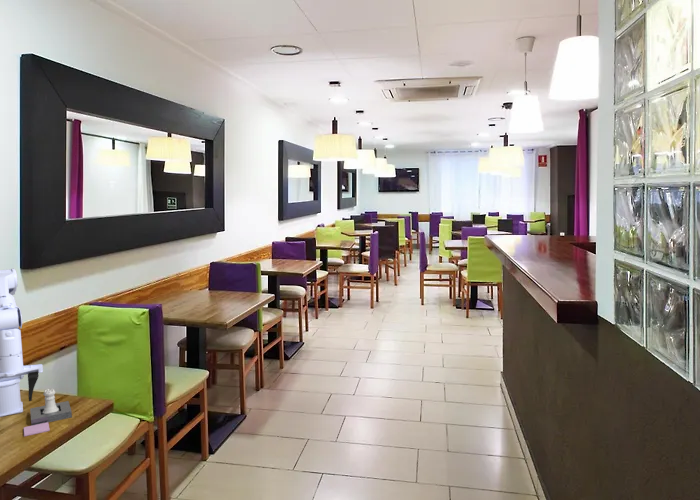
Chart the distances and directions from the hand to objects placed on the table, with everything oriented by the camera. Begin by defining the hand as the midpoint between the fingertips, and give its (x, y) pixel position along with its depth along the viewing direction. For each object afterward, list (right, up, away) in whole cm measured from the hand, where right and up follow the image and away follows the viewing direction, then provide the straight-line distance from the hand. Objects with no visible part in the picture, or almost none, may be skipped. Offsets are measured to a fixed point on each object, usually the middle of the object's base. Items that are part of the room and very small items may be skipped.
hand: (13, 403), depth 137 cm
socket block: (+1, -9, +16) cm, 18 cm away
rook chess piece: (+1, -9, +16) cm, 19 cm away
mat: (+2, -9, +7) cm, 12 cm away
